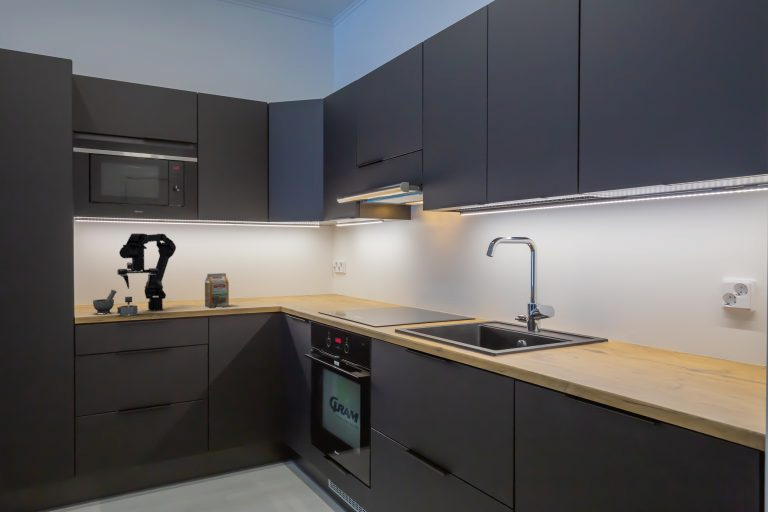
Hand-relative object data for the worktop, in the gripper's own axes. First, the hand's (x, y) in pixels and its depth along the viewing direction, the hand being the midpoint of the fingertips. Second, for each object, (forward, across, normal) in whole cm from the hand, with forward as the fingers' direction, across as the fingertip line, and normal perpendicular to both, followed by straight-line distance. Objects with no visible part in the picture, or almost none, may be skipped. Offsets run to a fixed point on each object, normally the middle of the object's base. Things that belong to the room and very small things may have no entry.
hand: (138, 288), depth 266 cm
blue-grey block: (+13, +5, +3) cm, 14 cm away
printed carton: (+13, -42, -8) cm, 45 cm away
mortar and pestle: (+13, +14, -10) cm, 22 cm away
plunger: (+13, +5, +3) cm, 14 cm away
